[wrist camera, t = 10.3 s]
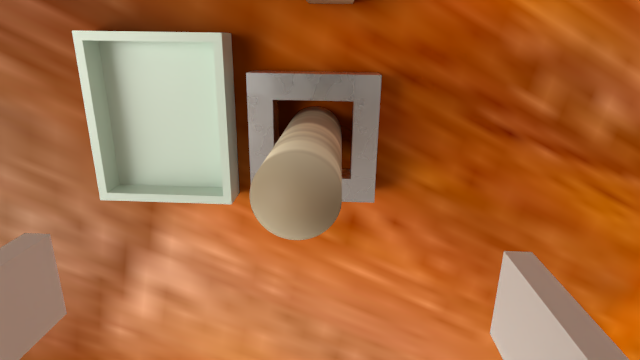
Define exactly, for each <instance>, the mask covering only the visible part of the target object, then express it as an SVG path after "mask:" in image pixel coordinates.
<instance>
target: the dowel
mask: <svg viewBox="0 0 640 360" xmlns="http://www.w3.org/2000/svg"><path fill="white" fill-rule="evenodd" d="M250 203H251V208H252V210H253V213H254V215H255V216H256V218H257V220H258V221H259V222H260V223H261V224H262V226H263V227H265V228H266V229H267V230H268V231H270V232H271V233H273V234H275V235H277V236H279V237H282V238H285V239H290V240H304V239H309V238H313V237H315V236H318V235H320V234H321V233H323V232H324V231H326V230H327V229H328V228H329V227H330V226H331V225H332V224H333V223H334V221H335V220H336V218H337V216H338V214H339V212H340V208H341V203H342V130H341V125H340V122H339V120H338V119H337V117H336V116H335V115H334V114H333V113H332V112H331V111H329V110H328V109H326V108H323V107H319V106H311V107H307V108H304V109H302V110H300V111H299V112H298V113H297V114H296V115H295V116H294V117H293V119H292V120H291V122H290V123H289V125H288V126H287V128H286V129H285V131H284V132H283V134H282V135H281V137H280V138H279V140H278V141H277V143H276V144H275V146H274V147H273V149H272V150H271V152H270V153H269V155H268V156H267V158H266V159H265V161H264V162H263V164H262V165H261V167H260V168H259V170H258V171H257V173H256V174H255V176H254V178H253V180H252V183H251V187H250Z"/></svg>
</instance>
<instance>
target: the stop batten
mask: <svg viewBox="0 0 640 360" xmlns="http://www.w3.org/2000/svg"><path fill="white" fill-rule="evenodd" d="M306 1H307V2H308V3H320V4H353V2H354V0H306Z"/></svg>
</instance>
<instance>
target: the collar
mask: <svg viewBox="0 0 640 360" xmlns="http://www.w3.org/2000/svg"><path fill="white" fill-rule="evenodd" d="M381 78H382V75H381V74H380V73H379V72H328V71H271V70H253V71H250V72H247V73H246V84H247V108H248V131H249V155H250V178H251V183H252V180H253V178H254V176H255V174H256V173H257V171H258V170H259V168H260V167H261V165H262V164H263V162H264V161H265V159H266V158H267V156H268V155H269V153H270V152H271V150H272V149H273V147H274V146H275V144H276V143H277V141H278V140H279V113H278V100H310V101H353V112H352V138H351V164H350V169H342V202H373V203H374V196H375V179H376V162H377V145H378V129H379V112H380V95H381Z"/></svg>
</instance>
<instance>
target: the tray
mask: <svg viewBox="0 0 640 360" xmlns="http://www.w3.org/2000/svg"><path fill="white" fill-rule="evenodd" d="M72 34H73V40H74V46H75V52H76V58H77V64H78V70H79V76H80V82H81V88H82V94H83V100H84V106H85V111H86V117H87V123H88V129H89V135H90V141H91V147H92V153H93V159H94V165H95V171H96V177H97V183H98V189H99V195H100V200H116V201H147V202H177V203H208V204H232V203H233V202H234V200H235V199H236V197H237V196H238V194H239V193H240V191H239V171H238V152H237V133H236V114H235V95H234V75H233V56H232V37H231V33H213V32H137V31H72Z"/></svg>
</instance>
